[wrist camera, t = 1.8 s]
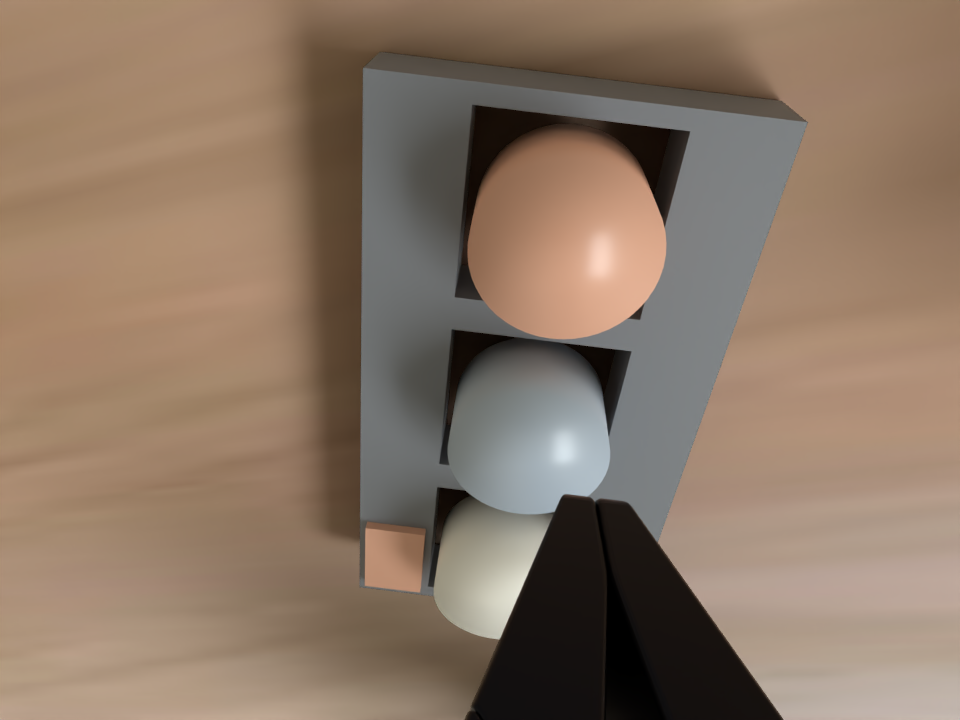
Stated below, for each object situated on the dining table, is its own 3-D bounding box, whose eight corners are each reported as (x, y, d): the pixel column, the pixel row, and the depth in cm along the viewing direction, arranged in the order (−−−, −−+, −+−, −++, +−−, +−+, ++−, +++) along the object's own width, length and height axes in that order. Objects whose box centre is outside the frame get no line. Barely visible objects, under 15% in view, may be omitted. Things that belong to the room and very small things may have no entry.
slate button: (587, 462, 22) (593, 523, 20) (451, 445, 22) (442, 504, 20) (616, 347, 20) (626, 402, 18) (463, 328, 20) (453, 381, 18)
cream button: (557, 583, 25) (558, 646, 23) (438, 568, 25) (429, 630, 23) (578, 498, 23) (583, 559, 21) (447, 482, 23) (438, 541, 21)
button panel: (624, 576, 27) (630, 627, 25) (370, 545, 27) (357, 593, 25) (781, 100, 17) (812, 125, 15) (380, 52, 17) (360, 70, 15)
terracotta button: (628, 298, 19) (640, 349, 17) (468, 278, 19) (459, 327, 17) (670, 135, 16) (690, 171, 14) (485, 113, 16) (477, 145, 14)
